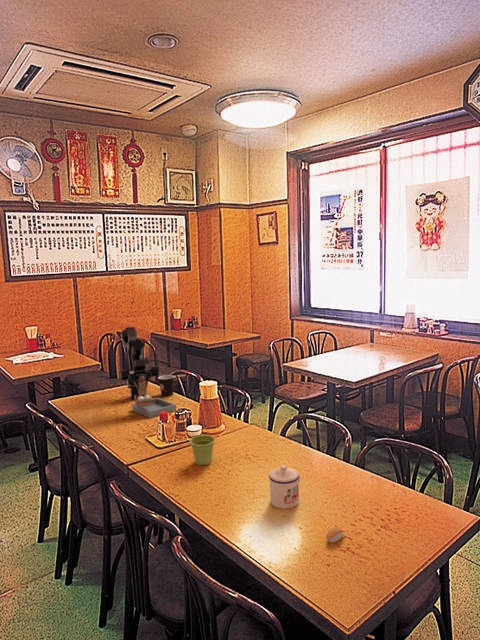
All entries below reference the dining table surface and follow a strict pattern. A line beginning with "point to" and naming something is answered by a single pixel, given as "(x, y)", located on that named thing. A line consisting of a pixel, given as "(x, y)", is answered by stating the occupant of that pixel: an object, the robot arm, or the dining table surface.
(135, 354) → the robot arm
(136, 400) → the brown wooden box
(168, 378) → the coffee mug
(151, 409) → the bin
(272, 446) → the dining table surface
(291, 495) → the teacup with lid
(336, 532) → the sushi
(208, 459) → the plant pot
